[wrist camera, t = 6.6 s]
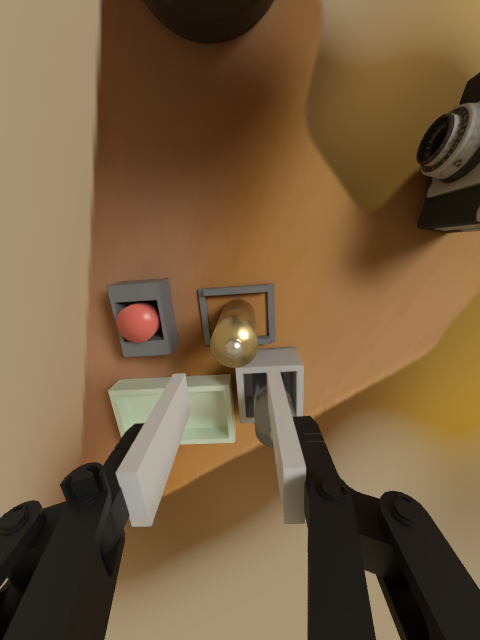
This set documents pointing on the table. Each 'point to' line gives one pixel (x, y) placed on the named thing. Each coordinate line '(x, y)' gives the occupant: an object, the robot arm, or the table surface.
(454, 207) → the camera
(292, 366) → the bin
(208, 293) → the empty grey frame
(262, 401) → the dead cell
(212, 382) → the trough
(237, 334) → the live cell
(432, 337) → the table surface
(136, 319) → the button
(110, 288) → the button housing
